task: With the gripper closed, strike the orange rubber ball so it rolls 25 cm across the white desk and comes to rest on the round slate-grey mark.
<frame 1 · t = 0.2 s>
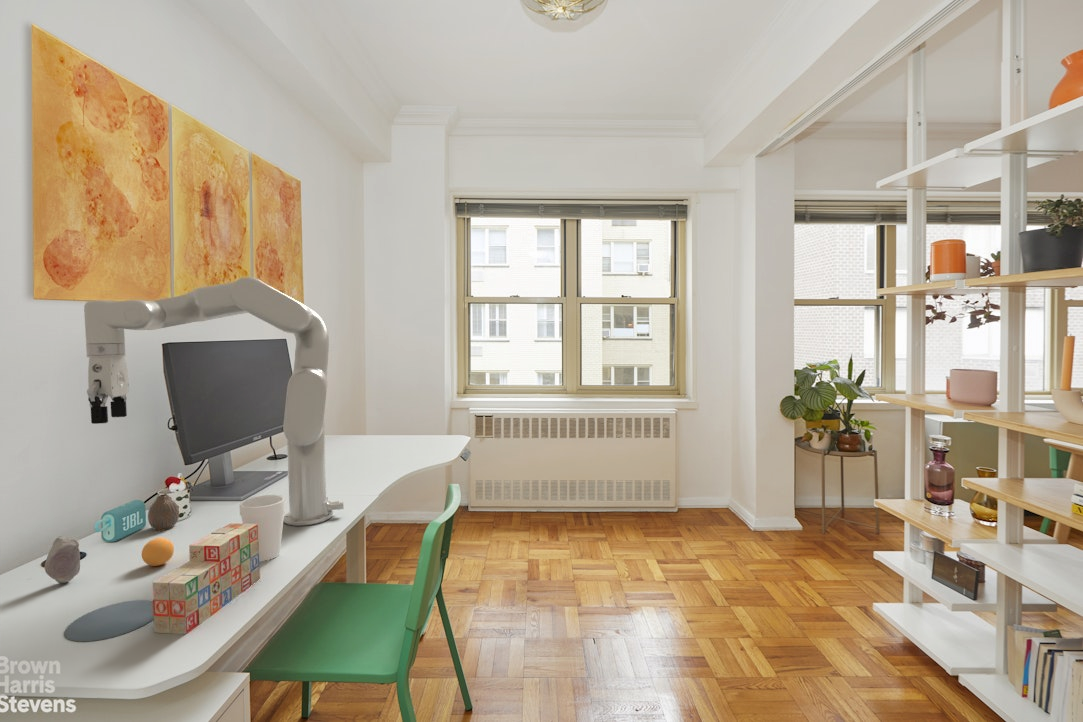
hand: (109, 419, 138), 31 cm above the table, tool pointing down, fingers open, 9 cm apart
stack of blocks: (212, 605, 107), on the table
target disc: (115, 619, 102), on the table
foam cup: (265, 556, 130), on the table
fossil: (63, 585, 116), on the table
ball: (157, 551, 125), on the table
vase: (164, 528, 149), on the table
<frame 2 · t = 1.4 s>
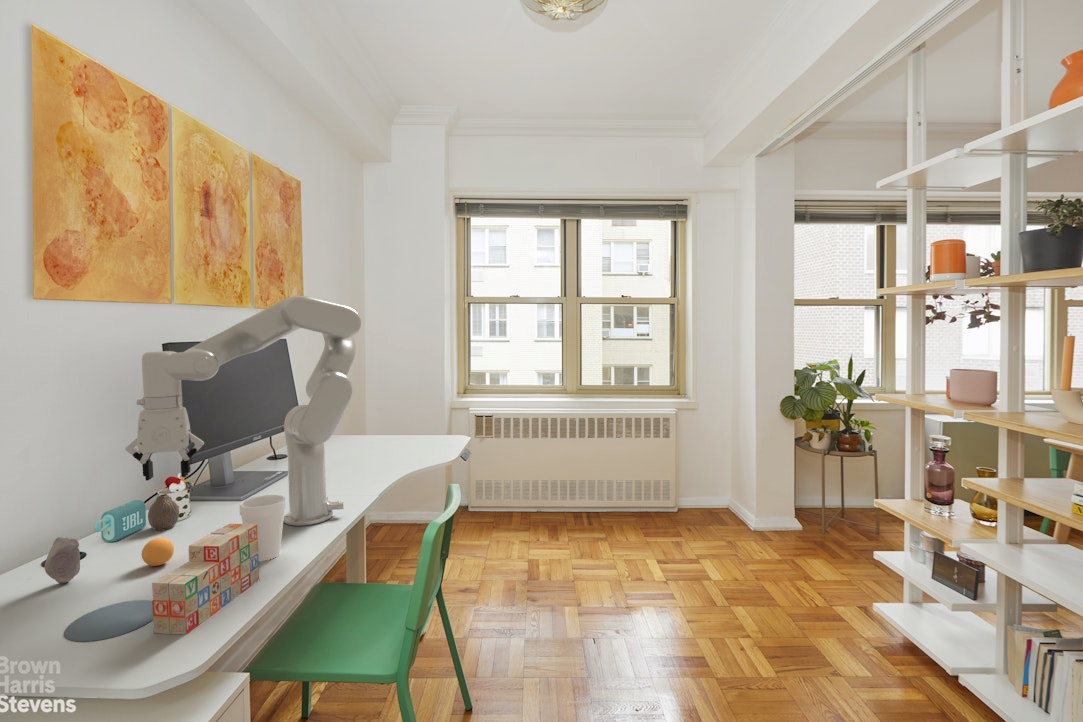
hand: (167, 476, 133), 18 cm above the table, tool pointing down, fingers open, 6 cm apart
nothing on the table moved.
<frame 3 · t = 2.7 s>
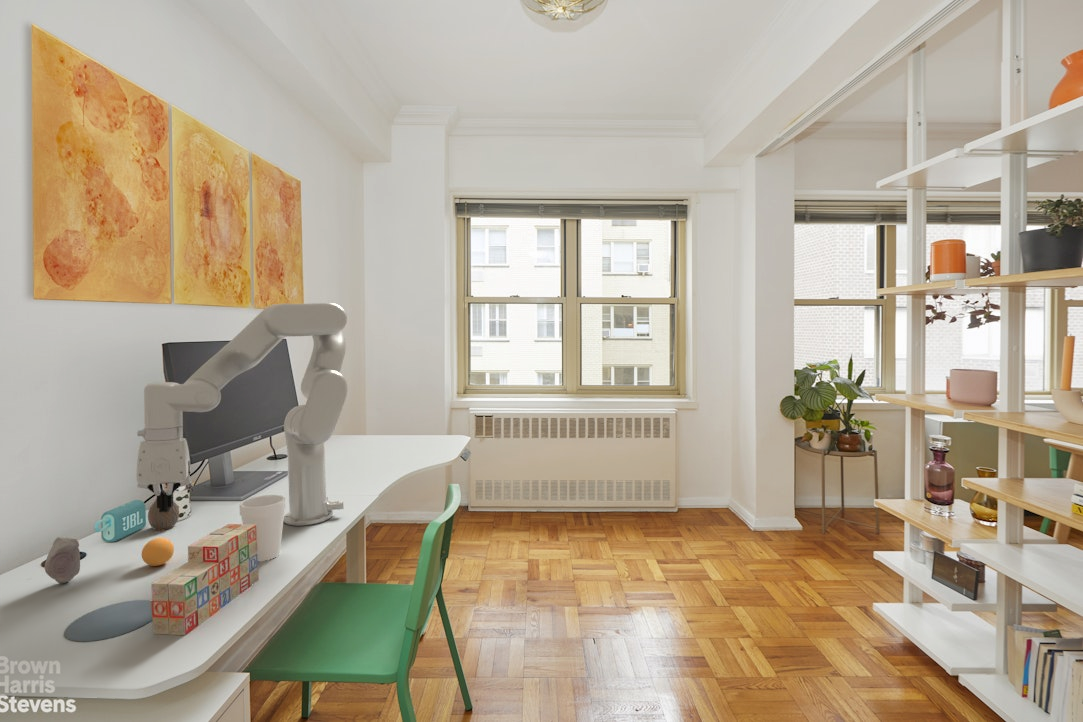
hand: (165, 510, 133), 10 cm above the table, tool pointing down, fingers closed
nothing on the table moved.
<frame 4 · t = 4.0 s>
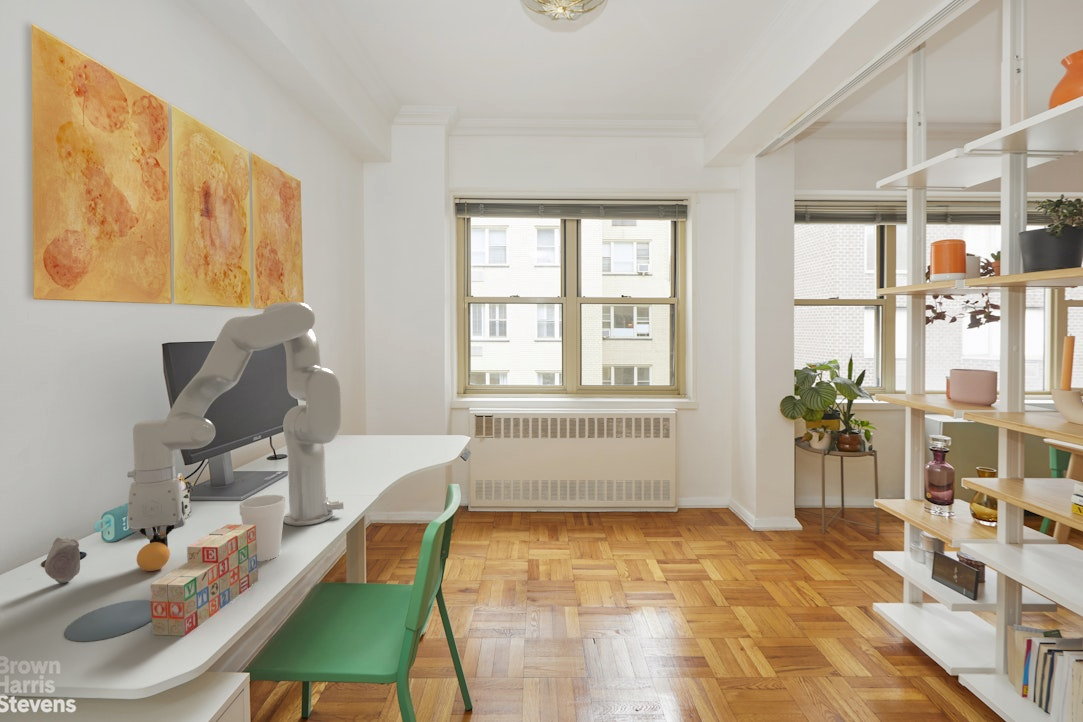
hand: (159, 553, 127), 2 cm above the table, tool pointing down, fingers closed
ball: (153, 556, 122), on the table
everything else where it was.
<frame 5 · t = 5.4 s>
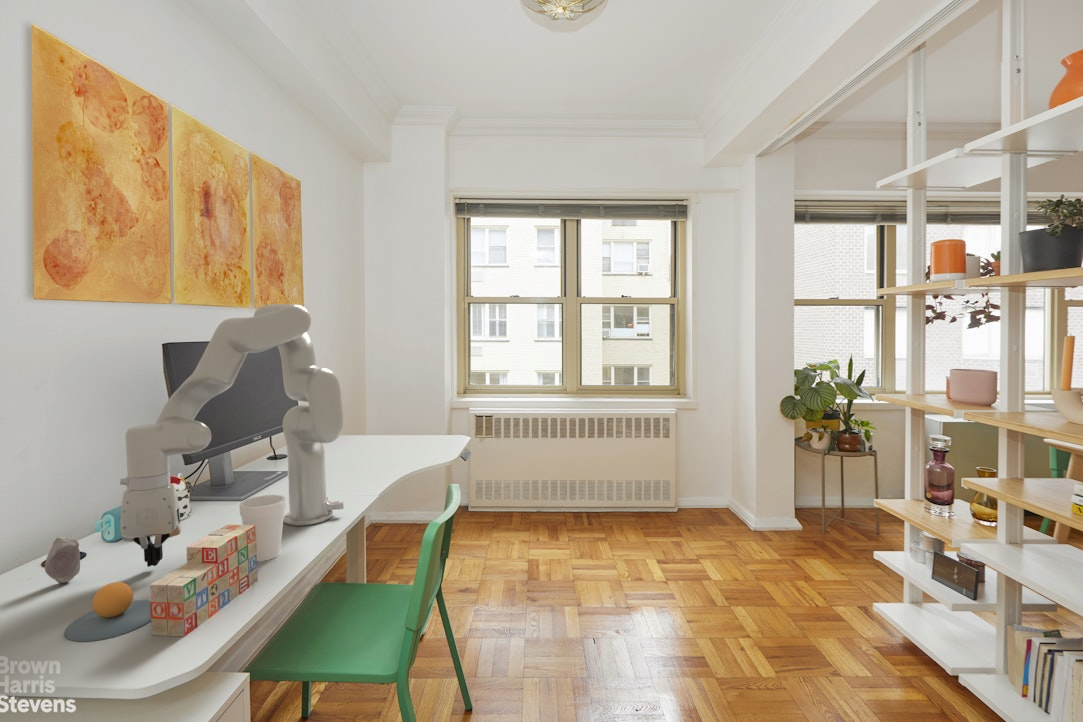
hand: (153, 563, 122), 2 cm above the table, tool pointing down, fingers closed
ball: (113, 599, 103), on the table
everything else where it was.
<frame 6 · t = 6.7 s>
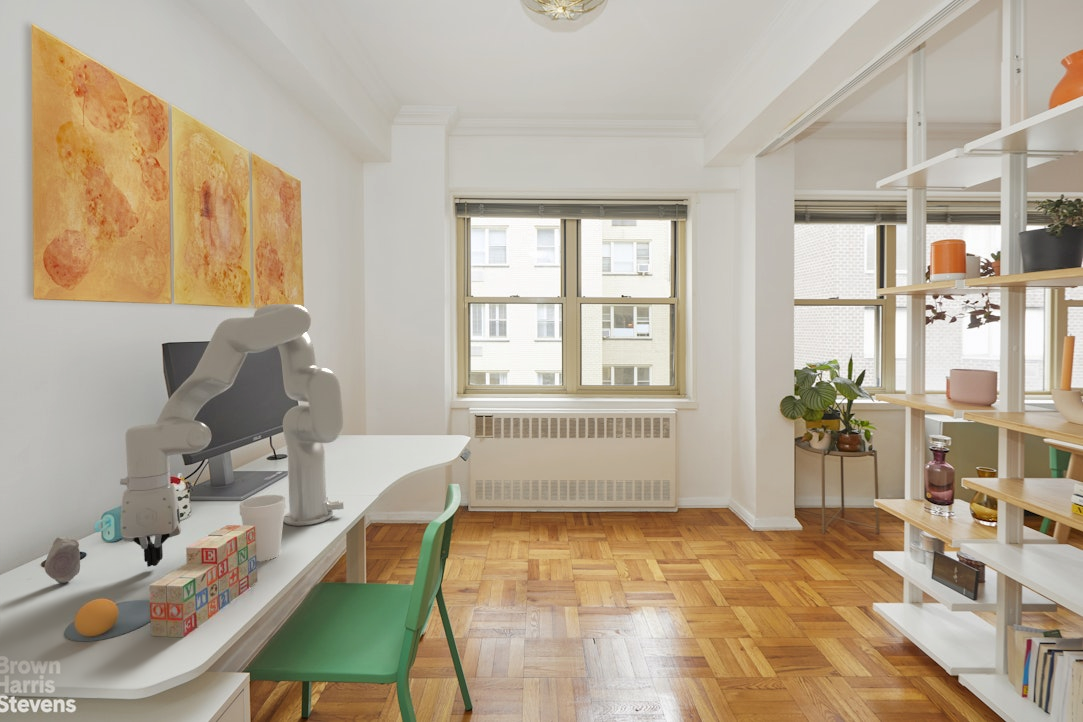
hand: (153, 563, 122), 2 cm above the table, tool pointing down, fingers closed
ball: (97, 617, 97), on the table
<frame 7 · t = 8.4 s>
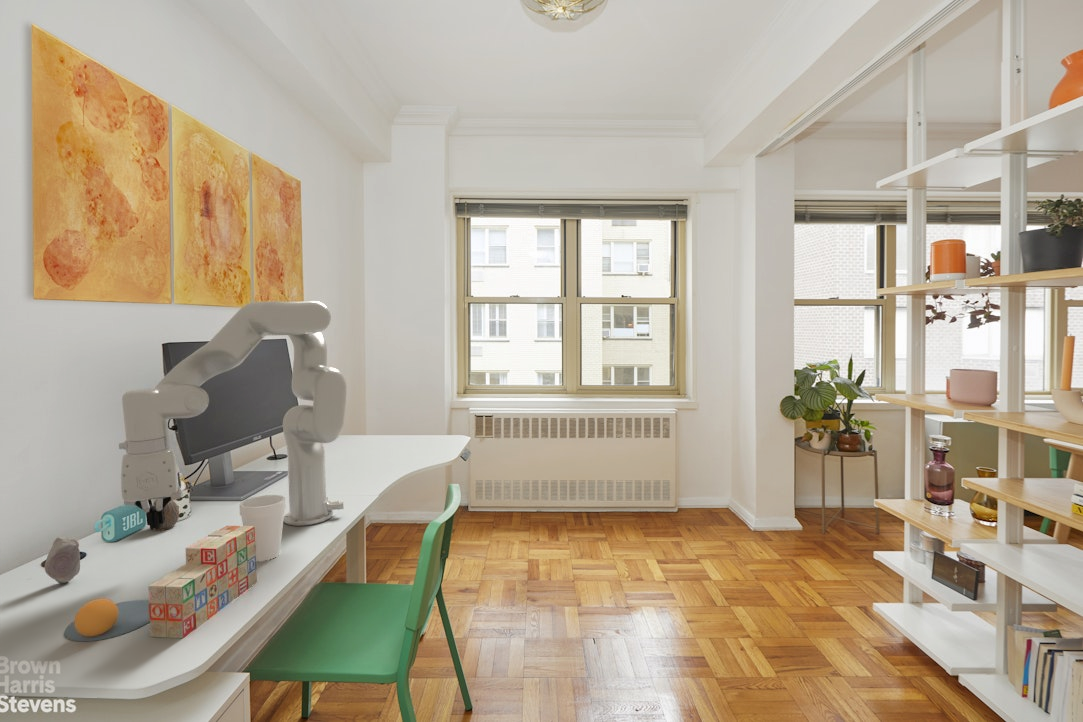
hand: (156, 527, 122), 9 cm above the table, tool pointing down, fingers closed
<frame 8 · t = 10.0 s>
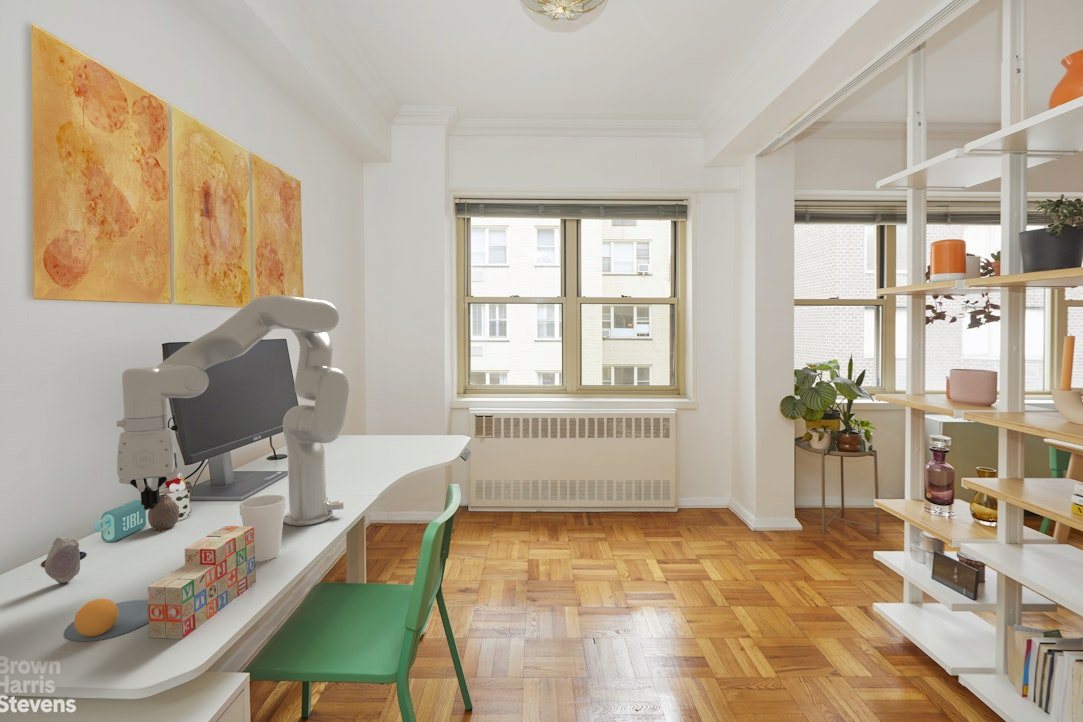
hand: (150, 507, 121), 14 cm above the table, tool pointing down, fingers closed
at the end: ball 4.7 cm from the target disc (horizontally); ball at rest at the end (0.0 cm/s); ball moved 29.6 cm from its start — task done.
